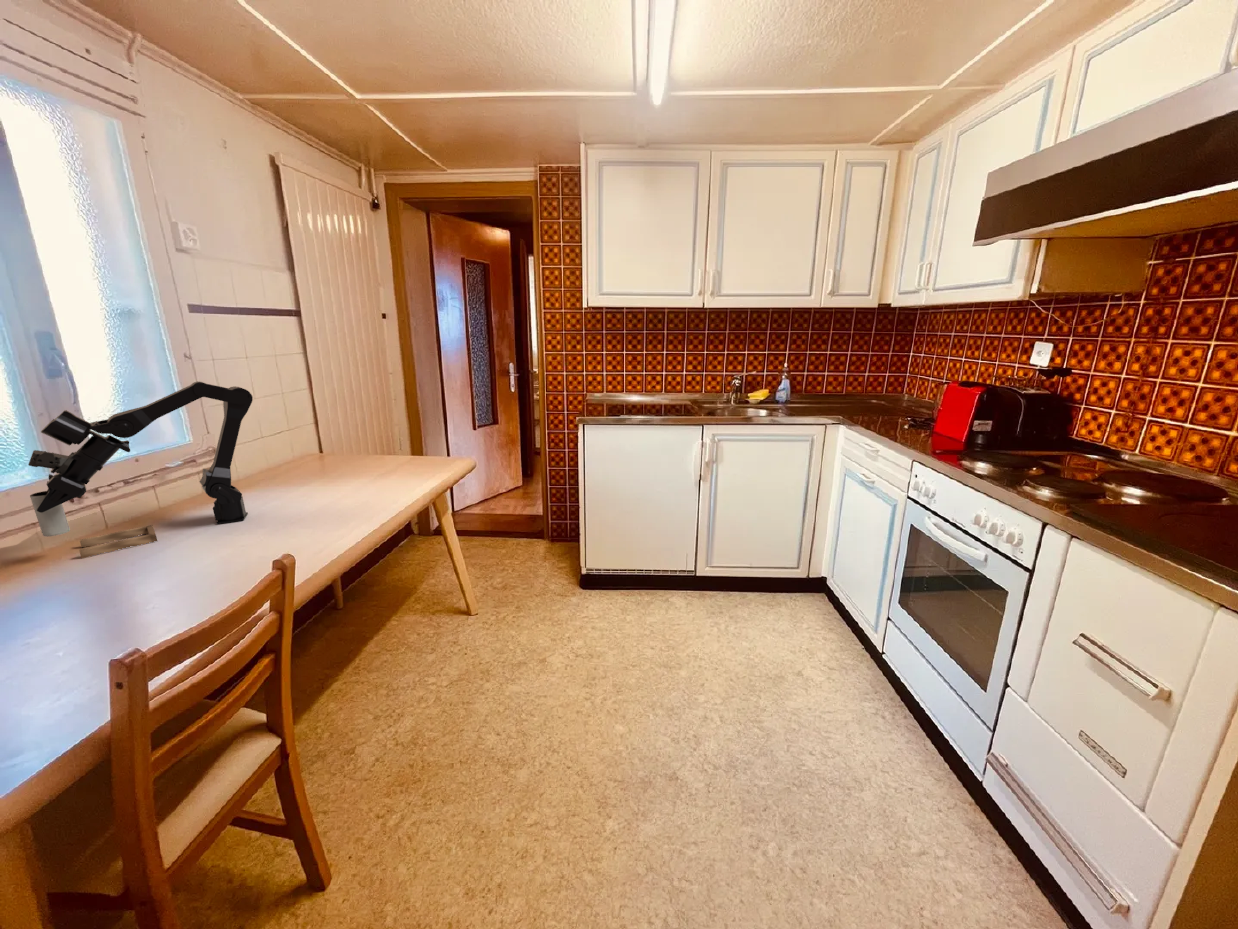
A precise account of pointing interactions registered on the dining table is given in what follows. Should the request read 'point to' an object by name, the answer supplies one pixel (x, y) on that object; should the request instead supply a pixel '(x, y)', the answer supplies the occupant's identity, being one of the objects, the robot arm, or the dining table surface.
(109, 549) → the tan u-shaped frame
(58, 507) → the planter
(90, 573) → the dining table surface
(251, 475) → the dining table surface
